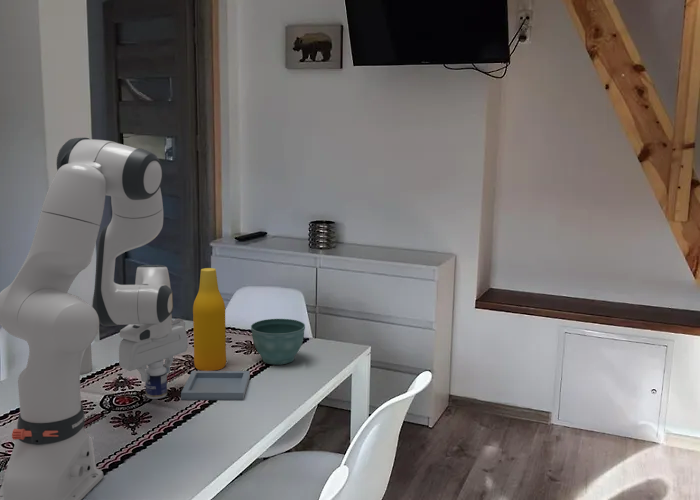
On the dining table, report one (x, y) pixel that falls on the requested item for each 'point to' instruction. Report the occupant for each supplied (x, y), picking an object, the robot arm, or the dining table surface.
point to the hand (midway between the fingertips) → (155, 376)
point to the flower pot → (278, 339)
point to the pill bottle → (156, 381)
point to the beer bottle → (209, 324)
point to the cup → (86, 361)
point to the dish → (216, 385)
